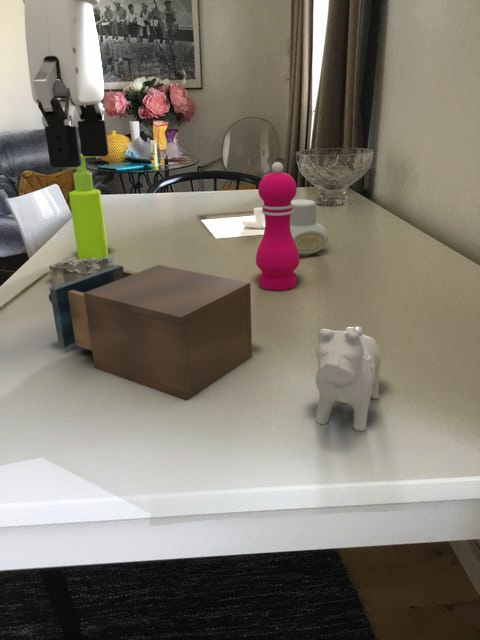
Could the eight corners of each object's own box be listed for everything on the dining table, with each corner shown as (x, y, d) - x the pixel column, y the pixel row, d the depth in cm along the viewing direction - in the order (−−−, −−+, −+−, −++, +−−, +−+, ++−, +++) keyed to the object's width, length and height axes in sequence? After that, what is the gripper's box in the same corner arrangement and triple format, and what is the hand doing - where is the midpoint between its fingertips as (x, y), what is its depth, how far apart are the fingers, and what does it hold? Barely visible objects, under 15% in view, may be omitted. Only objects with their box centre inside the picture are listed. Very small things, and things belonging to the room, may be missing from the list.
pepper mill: (293, 276, 99) (294, 158, 91) (304, 290, 92) (306, 163, 85) (252, 279, 98) (250, 160, 90) (261, 293, 91) (259, 166, 83)
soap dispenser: (118, 255, 114) (106, 153, 107) (88, 263, 110) (74, 157, 102) (102, 250, 118) (89, 151, 110) (72, 258, 113) (57, 155, 106)
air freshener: (316, 244, 118) (317, 196, 114) (334, 254, 111) (336, 203, 107) (267, 250, 115) (266, 200, 111) (282, 260, 108) (282, 208, 104)
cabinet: (94, 367, 68) (83, 292, 65) (164, 331, 78) (158, 264, 74) (186, 400, 61) (180, 317, 57) (252, 356, 70) (250, 282, 66)
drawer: (37, 338, 75) (27, 282, 72) (102, 311, 83) (95, 260, 80) (134, 371, 65) (127, 308, 62) (196, 336, 74) (193, 280, 71)
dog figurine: (301, 444, 53) (303, 340, 49) (334, 380, 64) (337, 291, 60) (358, 455, 51) (365, 348, 47) (382, 388, 62) (388, 297, 58)
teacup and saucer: (245, 231, 130) (245, 213, 129) (237, 223, 138) (237, 207, 136) (281, 228, 132) (281, 210, 131) (272, 221, 139) (272, 204, 138)
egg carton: (49, 289, 96) (45, 266, 94) (59, 276, 103) (55, 254, 101) (112, 286, 96) (109, 263, 95) (118, 273, 103) (115, 251, 102)
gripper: (56, -1, 66) (76, 153, 72) (-19, -28, 50) (16, 172, 56) (119, -3, 65) (133, 152, 71) (64, -31, 49) (89, 171, 56)
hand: (81, 160), depth 64 cm, fingers open, 9 cm apart
